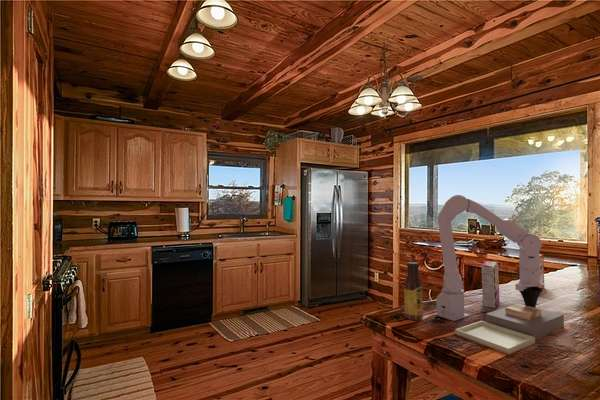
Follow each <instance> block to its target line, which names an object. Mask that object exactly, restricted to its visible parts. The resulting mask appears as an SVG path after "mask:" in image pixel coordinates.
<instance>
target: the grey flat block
mask: <svg viewBox="0 0 600 400" xmlns="http://www.w3.org/2000/svg"><path fill="white" fill-rule="evenodd" d="M516 304H517V303H515V304H512V305H508V306H506V307H509V306H513V305H516ZM520 304H521V303H520ZM521 305H523V304H521ZM506 307H502V308H499V309H497V310H494V311H490V312H487V313H485V322H487V323H491V324H494V325H497V326H500V327H503V328H507V329H510V330H513V331H516V332H520V333H523V334H526V335H529V336H533V337H535V341H536V340H537V339H540V338H542V337H545V336H547V335H548V334H551V333H553V332H555V331H558V330H560V329H563V328H564V327H565V318H564V314H563V313H558V312H555V311H550V310H546V309H542V308H540V309H541V316H539V317H536V318H533V319H531V320H526V319H523V318H519V317H515V316H512V315H508V314H506V311H505V308H506Z"/></svg>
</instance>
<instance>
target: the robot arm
mask: <svg viewBox="0 0 600 400" xmlns="http://www.w3.org/2000/svg"><path fill="white" fill-rule="evenodd" d="M463 212H465V213H468V214H469V213H470V214H475V215H477V216H479V217H480V218H482V219H484V220H485V221H487V222H488V223H491V224H492V225H494V226H495V227H496V232H498V234H500V235H502V236H503V237H505V238H507V239H508V240H510V241H511V242H512V243H515V244H517V246H518V247H519V249H518V250H519V254H518V258H519V259H518V260H519V263H518V264H519V267H518V268H519V270H518V271H519V280H518V281H517V283H515V284H514V285H515V290H516V291H519V293H520V295H521V296H522V300H523V301H524V305H526V306H530V307H534V308H537V303H538V300H539V296H540V295H541V294H542V292H543V289H542V288H538V287H537V286H544V287H545V278H544V279H540V256H539V254H540V249H541V248H542V246H543V242H542V241H541V238H540V237H539V236H538V235H536V234H533V233H532V232H530V231H531V230H530V229H529V228H524V227H523V226H521V225H519V224H518V223H517V220H515V219H514V218H513V219H512V218H511V219H510V218H501V217H500V216H498V215H496V214H495V213H493V212H492V211H490V210H489V209H487V208H486V207H485V206H483V205H481V203H479V202H476V201H474V200H472V199H469V198H467V197H466V196H464V195H462V194H455V195H453V196H451V197H450V198H449V199H448V200H447V201H445V203H444V205H443V206H442V208H441V209H440V212H439V214H437V215H438V216H437V225H438V226H437V227H438V233H439V240H440V246H441V254H442V262H443V267H444V268H443V269H444V273H443V278H442V279H443V287H442V288H441V289H442V290H441V292H440V293H438V294H437V296H436V312H435V313H434V315H436V316H438V317H442V318H443V319H447V320H450V321H453V322H455V321H458V320H461V319H465V318H468V317H470V316H471V315H470V314H469V313H465V290H464V289H463V288H464V283H463V280H462V275H461V274H460V272H459V270H458V262H457V255H456V249H455V240H454V233H453V227H452V226H453V225H452V222H453V220H455V218H456V217H457V216H458V215H460V214H462V213H463Z"/></svg>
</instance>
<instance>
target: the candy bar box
mask: <svg viewBox="0 0 600 400" xmlns="http://www.w3.org/2000/svg"><path fill="white" fill-rule="evenodd" d="M480 268H481V269H480V270H481V271H480V272H481V273H480V274H481V292H482V307H483V306H485V307H484V308H489V307H491V308H490V309H497V307H498V306H499V304H500V281H499V262H498V261H492V260H491V261H489V260H488V261H487V260H486V261H483V263H482V264H481V265H480Z"/></svg>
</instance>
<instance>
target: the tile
mask: <svg viewBox="0 0 600 400" xmlns="http://www.w3.org/2000/svg"><path fill="white" fill-rule="evenodd" d="M515 304H516V305H514V304H512V305H513V306H511V305H508V306H509V307H508V306H506V308H505V307H504V308H505V311H506V314H508V315H512V316H515V317H519V318H523V319H526V320H531V319H533V318H536V317H539V316H541V309H542V308H538V307H535V308H534V307H530V306H526V305H525V304H522V305H521V303H515Z"/></svg>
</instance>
